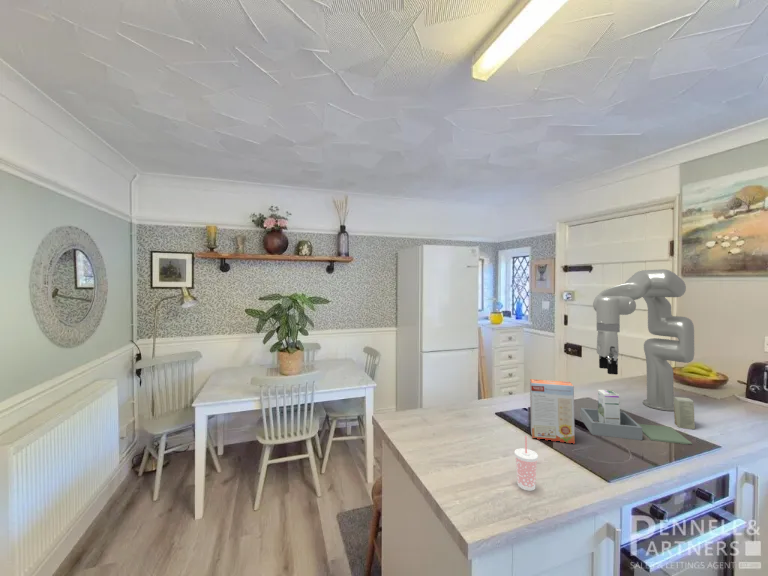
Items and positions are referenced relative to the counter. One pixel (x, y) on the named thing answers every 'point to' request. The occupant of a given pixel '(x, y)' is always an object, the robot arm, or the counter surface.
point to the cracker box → (552, 410)
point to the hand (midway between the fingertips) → (608, 371)
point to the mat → (663, 434)
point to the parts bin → (611, 425)
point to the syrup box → (608, 407)
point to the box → (684, 412)
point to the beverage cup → (526, 467)
